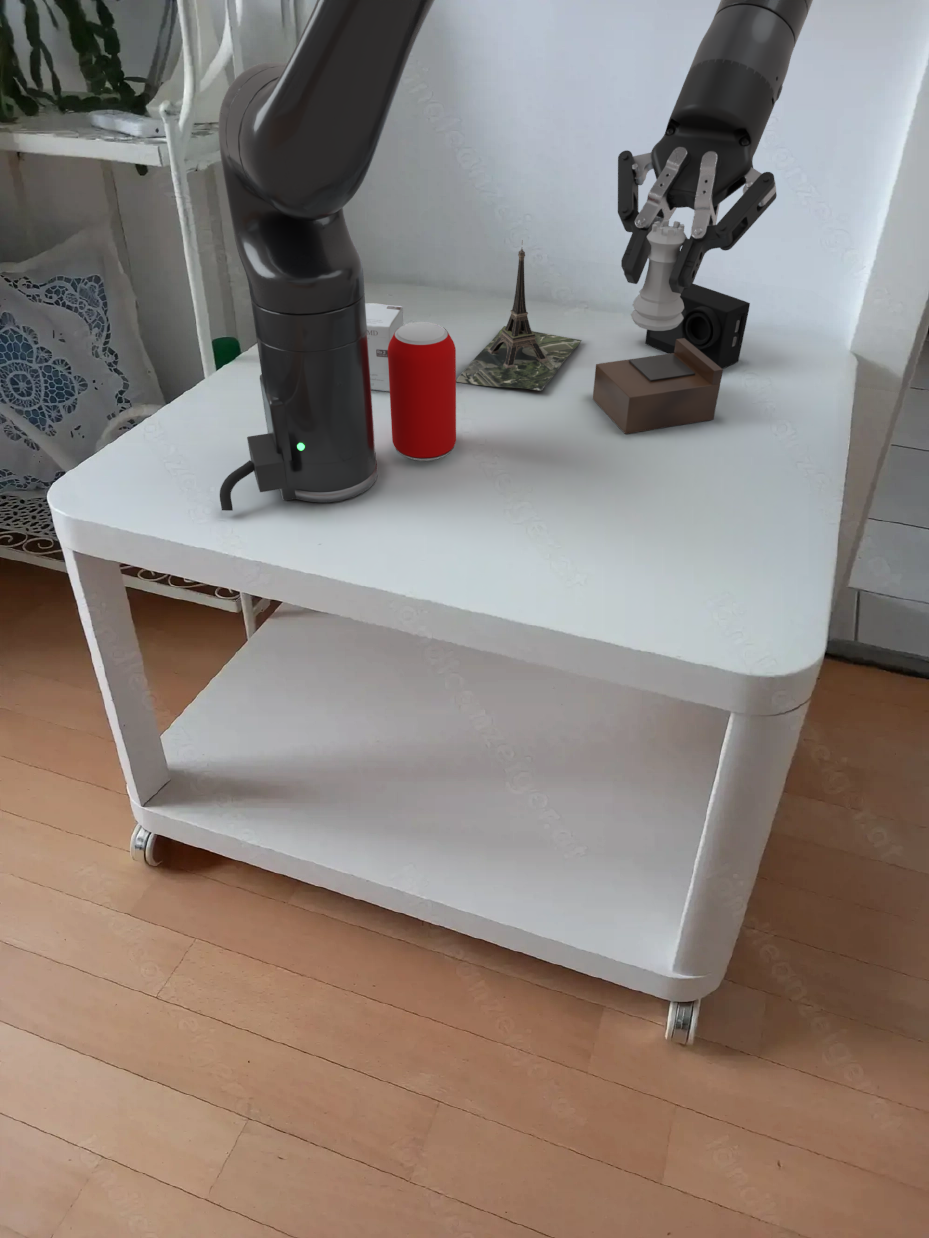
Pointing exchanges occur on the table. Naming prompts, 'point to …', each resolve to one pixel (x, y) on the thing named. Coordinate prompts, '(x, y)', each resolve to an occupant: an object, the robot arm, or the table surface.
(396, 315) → the product carton
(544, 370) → the eiffel tower figurine
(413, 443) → the beverage can
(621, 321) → the table surface
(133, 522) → the table surface
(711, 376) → the wooden stepped block
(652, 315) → the rook chess piece
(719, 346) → the digital camera
